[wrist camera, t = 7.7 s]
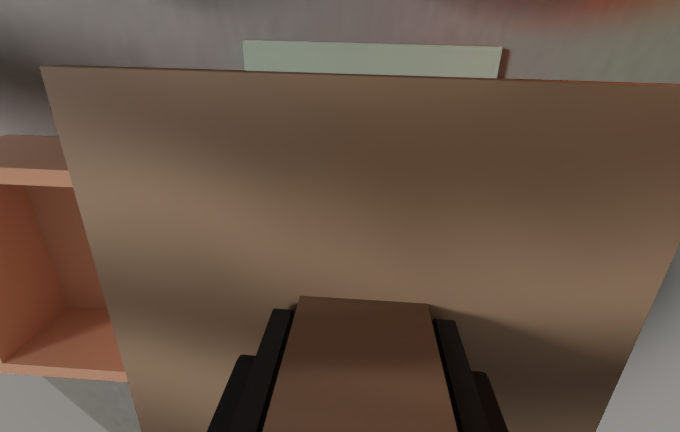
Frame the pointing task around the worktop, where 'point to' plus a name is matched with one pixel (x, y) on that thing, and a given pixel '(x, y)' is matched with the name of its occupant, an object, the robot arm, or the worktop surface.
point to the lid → (372, 236)
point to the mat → (372, 58)
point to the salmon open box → (48, 271)
